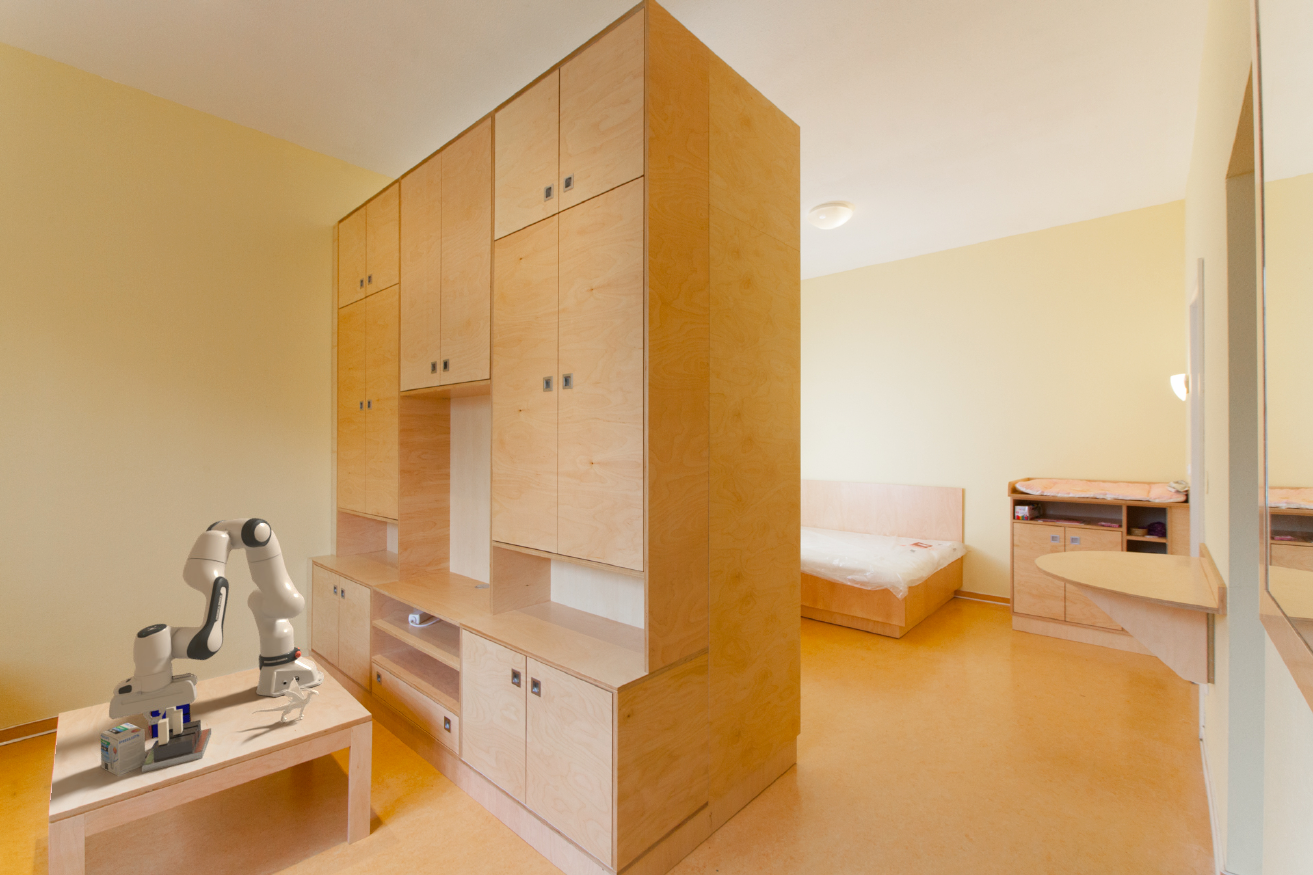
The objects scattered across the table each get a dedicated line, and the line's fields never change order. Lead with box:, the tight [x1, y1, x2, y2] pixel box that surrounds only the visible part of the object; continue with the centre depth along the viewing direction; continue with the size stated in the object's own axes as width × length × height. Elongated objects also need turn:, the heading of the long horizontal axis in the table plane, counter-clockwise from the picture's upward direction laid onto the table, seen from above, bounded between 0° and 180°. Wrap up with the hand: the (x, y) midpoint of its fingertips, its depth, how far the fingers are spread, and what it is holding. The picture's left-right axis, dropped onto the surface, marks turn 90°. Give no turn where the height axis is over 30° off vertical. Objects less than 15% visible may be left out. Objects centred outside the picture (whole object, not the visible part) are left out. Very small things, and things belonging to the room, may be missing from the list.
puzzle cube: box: [147, 703, 192, 739], centre depth 192 cm, size 10×10×10 cm
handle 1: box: [157, 718, 169, 745], centre depth 171 cm, size 2×2×7 cm
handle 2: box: [166, 706, 176, 730], centre depth 180 cm, size 2×2×7 cm
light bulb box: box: [99, 722, 146, 777], centre depth 170 cm, size 11×7×11 cm, turn 65°
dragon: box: [251, 678, 320, 723], centre depth 195 cm, size 11×20×13 cm, turn 111°
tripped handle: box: [172, 709, 183, 735], centre depth 177 cm, size 2×2×7 cm
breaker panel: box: [141, 719, 212, 774], centre depth 177 cm, size 14×16×6 cm
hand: (155, 723), depth 174 cm, fingers closed
